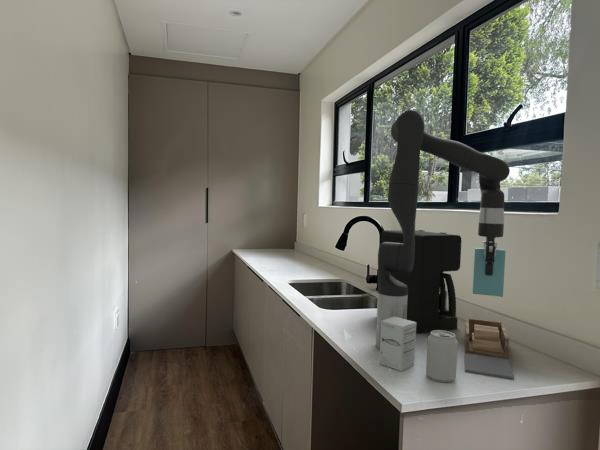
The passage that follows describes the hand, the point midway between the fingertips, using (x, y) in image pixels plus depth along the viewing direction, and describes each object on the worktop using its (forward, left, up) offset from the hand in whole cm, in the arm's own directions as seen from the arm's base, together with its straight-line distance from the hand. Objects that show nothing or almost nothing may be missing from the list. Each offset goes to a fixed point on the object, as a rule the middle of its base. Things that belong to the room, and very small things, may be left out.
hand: (488, 274), depth 138 cm
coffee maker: (+14, +22, -23) cm, 35 cm away
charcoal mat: (-22, 0, -23) cm, 32 cm away
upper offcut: (-7, 0, -19) cm, 20 cm away
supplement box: (-32, +24, -23) cm, 46 cm away
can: (-36, +12, -23) cm, 44 cm away
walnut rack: (-5, 0, -23) cm, 24 cm away
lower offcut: (-7, 0, -22) cm, 23 cm away
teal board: (0, 0, -7) cm, 7 cm away
